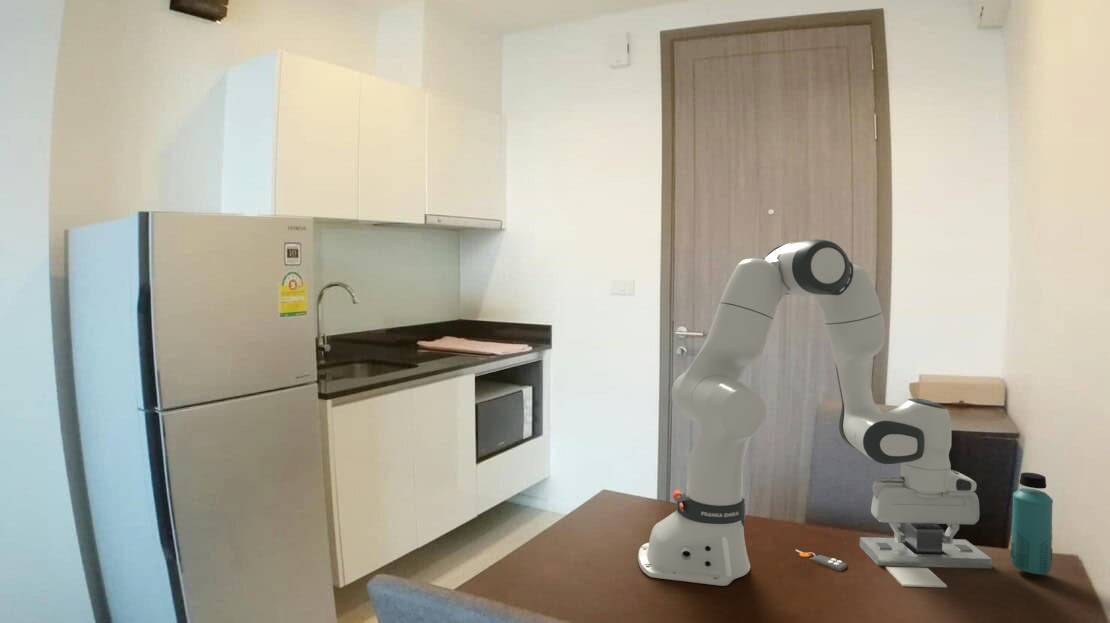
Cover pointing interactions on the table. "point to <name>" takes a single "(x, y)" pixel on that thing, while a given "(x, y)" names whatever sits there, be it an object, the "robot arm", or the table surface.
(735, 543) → the robot arm
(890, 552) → the cabinet panel
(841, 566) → the key chain
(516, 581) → the table surface
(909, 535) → the dark grey box
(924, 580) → the pad
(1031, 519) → the beverage bottle
